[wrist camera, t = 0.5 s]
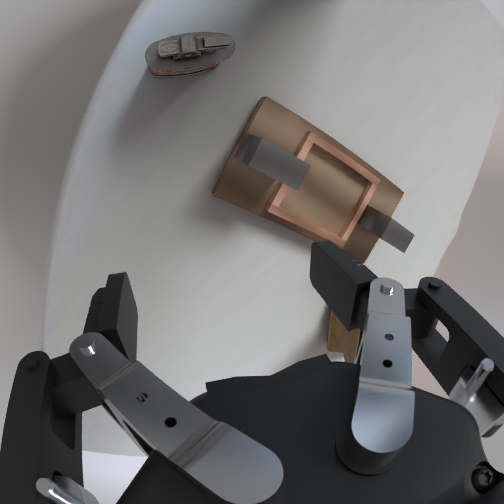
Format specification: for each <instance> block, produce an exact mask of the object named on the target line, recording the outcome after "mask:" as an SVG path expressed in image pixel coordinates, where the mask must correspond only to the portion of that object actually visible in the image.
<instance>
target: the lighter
mask: <svg viewBox="0 0 504 504" xmlns="http://www.w3.org/2000/svg"><path fill="white" fill-rule="evenodd" d="M234 50H235V44H234V41H233V39H232V37H231V36H230V35H227V34H224V33H212V32H199V33H187V34H181V35H177V36H172V37H169V38H166V39H163V40H160V41H157V42H154V43H152V44H151V45H150V46H149V47H148V48H147V50H146V52H145V58H146V62H147V64H148V65H149V67H148V68H149V72H150V74H151V75H152V76H154V77H156V78H174V77H184V76H190V75H195V74H199V73H203V72H206V71H209V70H213V69H215V68H216V67H218V65H219V64H220V62H221V61H222V60H225V59H227V58H229V57H230V56H231V55H232V54H233V52H234Z"/></svg>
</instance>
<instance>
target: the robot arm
mask: <svg viewBox="0 0 504 504" xmlns="http://www.w3.org/2000/svg"><path fill="white" fill-rule="evenodd" d="M310 279H311V283H312V285H313V287H314V288H315V289H316V291H317V292H318V293H319V294H320V296H321V297H322V298H323V300H324V301H325V302H326V303H327V305H328V306H329V307H330V309H331V310H332V311H333V312H334V314H335V315H336V316H337V318H338V319H339V320H340V322H341V323H342V324H343V325H344V327H345V328H346V329H347V331H351V330H355V329H358V328H359V330H360V333H359V337H358V343H357V349H356V354H355V359H354V363H349V362H331V361H330V360H329V358H328V356H327V355H326V354H324V355H320V356H317V357H313V358H310V359H306V360H303V361H299V362H297V363H295V364H293V365H291V366H289V367H287V368H285V369H283V370H281V371H279V372H277V373H275V374H273V375H270V376H242V377H232V378H227V379H222V380H217V381H212V382H206V383H205V384H206V388H207V392H205V393H203V394H201V395H199V396H197V397H195V398H194V399H192V400H191V401H187V400H186V399H185V398H183V397H182V396H181V395H180V394H178V393H177V392H176V391H174V390H173V389H172V388H171V387H169V386H168V385H167V384H166V383H164V382H163V381H162V380H161V379H159V378H158V377H157V376H156V375H155V374H153V373H152V372H151V371H150V370H149V369H147V368H146V367H145V366H144V365H143V364H142V363H140V362H139V361H136V354H137V323H138V313H137V307H136V302H135V299H134V296H133V292H132V289H131V285H130V282H129V278H128V275H127V273H126V272H123V273H117V274H110V275H109V276H108V280H107V284H106V287H104V288H99V289H98V290H97V291H96V293H95V294H94V295H93V296H92V300H91V304H90V305H91V306H90V307H89V313H88V315H87V319H86V323H85V327H84V331H83V334H82V335H80V336H79V337H77V338H76V339H75V340H74V341H73V342H72V343H71V345H70V348H69V353H67V354H65V355H62V356H59V357H57V358H54V359H51V360H50V358H49V356H48V355H47V354H46V353H45V352H43V351H34V352H31V353H29V354H27V355H26V356H25V357H23V359H21V361H20V363H19V364H18V367H17V370H16V374H15V378H14V382H13V386H12V390H11V394H10V399H9V403H8V408H7V413H6V418H5V424H4V430H3V436H2V443H1V450H0V504H99V503H98V500H97V499H96V497H95V496H94V495H93V494H91V493H90V492H89V491H87V490H86V489H84V487H83V486H84V485H83V469H82V412H83V411H86V410H89V409H91V408H94V407H97V406H99V405H101V406H102V407H103V408H104V409H105V410H106V412H107V413H108V414H109V415H110V416H111V417H112V418H113V420H114V421H115V422H116V423H117V424H118V425H119V426H120V427H121V428H122V429H123V431H124V432H125V433H126V434H127V435H128V436H129V437H130V438H131V439H132V440H133V441H134V443H135V444H136V445H137V446H138V447H139V448H140V449H141V450H142V451H143V452H144V453H145V454H146V455H147V456H148V458H147V460H146V461H145V463H144V464H143V466H142V467H141V469H140V470H139V472H138V473H137V474H136V476H135V477H134V479H133V480H132V482H131V483H130V485H129V486H128V488H127V489H126V490H125V492H124V493H123V495H122V496H121V497H120V499H119V500H118V502H117V503H116V504H504V474H503V473H500V472H498V471H496V470H495V469H494V468H493V467H492V466H491V465H490V464H489V462H488V460H487V458H486V456H485V453H484V450H483V447H482V443H481V438H480V437H490V436H492V435H493V434H494V433H495V432H496V431H497V430H498V429H499V428H500V427H501V426H502V425H503V424H504V338H503V337H502V336H501V335H500V334H499V333H498V332H497V331H496V330H495V329H494V328H493V327H492V326H491V325H490V324H489V323H488V322H487V321H486V320H485V319H484V318H483V317H482V316H481V315H480V314H479V313H478V312H477V311H476V310H475V309H474V308H473V307H472V306H470V305H469V304H468V303H467V302H466V301H465V300H464V299H463V298H462V297H461V296H460V295H458V294H457V293H456V292H455V291H454V290H453V289H452V288H451V287H450V286H448V285H447V284H446V283H445V282H443V281H442V280H440V279H437V278H434V277H424V278H422V279H421V280H420V282H419V286H418V288H415V289H404V288H403V286H402V285H401V284H400V283H399V282H397V281H395V280H393V279H390V278H378V277H377V276H376V275H375V274H374V273H373V272H371V271H370V270H369V269H368V268H367V267H366V266H365V265H363V263H362V262H360V261H359V260H358V259H357V258H356V257H355V256H354V255H353V254H351V253H350V252H348V251H345V250H343V249H339V248H338V247H337V246H336V245H335V244H334V243H333V242H332V241H330V240H325V241H319V242H314V243H313V244H312V248H311V262H310ZM438 320H440V321H441V322H442V323H443V324H444V326H445V327H446V328H447V329H448V331H449V341H448V342H447V341H446V340H445V339H444V338H443V337H442V336H441V335H440V333H439V332H438V331H437V330H436V329H435V328H436V325H437V323H438ZM412 349H413V350H414V351H415V353H416V354H417V355H418V356H419V358H420V359H421V360H422V362H423V363H424V364H425V365H426V367H427V368H428V369H429V371H430V372H431V373H432V375H433V376H434V377H435V378H436V380H437V381H438V382H439V384H440V385H441V386H442V388H443V389H444V391H445V392H446V393H447V395H448V396H449V399H446V398H443V397H440V396H437V395H435V394H432V393H429V392H426V391H424V390H421V389H418V388H416V387H413V386H411V381H412V380H411V379H412Z"/></svg>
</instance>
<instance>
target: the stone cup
mask: <svg viewBox="0 0 504 504" xmlns="http://www.w3.org/2000/svg"><path fill="white" fill-rule="evenodd" d="M359 333H360V330H359V328H358V329H355V330H351V331H347V329H346V328H345V327H344V325H343V324H342V323H341V322H340V320H339V319H338V318H337V316H336V315H335V314H334V312H333V311H332V310H331V314H330V322H329V330H328V342H327V350H329V351H332V352H341V353H342V352H343V353H344V359H345V362H349V363H354V359H355V354H356V349H357V343H358V337H359Z"/></svg>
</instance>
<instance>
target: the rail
mask: <svg viewBox="0 0 504 504" xmlns="http://www.w3.org/2000/svg"><path fill="white" fill-rule="evenodd" d="M212 193H213V194H214V196H217V197H219V198H221V199H224V200H226V201H228V202H231V203H233V204H235V205H238V206H240V207H242V208H244V209H247V210H249V211H251V212H254V213H256V214H258V215H260V216H263V217H265V218H267V219H269V220H272V221H274V222H276V223H278V224H280V225H283V226H285V227H287V228H289V229H291V230H294V231H296V232H298V233H300V234H302V235H305V236H307V237H309V238H311V239H313V240H315V241H317V242H319V241H325V240H330V241H332V242H333V243H334V244H335V245H336V246H337V247H338V248H339V249H343V250H345V251H348V252H350V253H351V254H353V255H354V256H355V257H356V258H357V259H358V260H359V261H360V262H362V263H364V262H365V260H366V259H367V257H368V256H369V254H370V252H371V251H372V249H373V247H374V246H375V244H376V242H377V241H378V239H379V238H381V239H382V240H384V241H386V242H387V243H389V244H391V245H392V246H394V247H395V248H397V249H399V250H400V251H402V252H403V253H405V251H406V249H407V247H408V246H409V244H410V242H411V241H412V239H413V237H414V234H413V233H411V232H410V231H409V230H407V229H406V228H404V227H403V226H402V225H400V224H399V223H398V222H396V221H395V220H393V219H392V218H391V216H392V214H393V212H394V211H395V209H396V207H397V205H398V203H399V201H400V200H401V198H402V196H403V194H404V192H403V191H402V190H400V189H399V188H398V187H397V186H396V185H394V184H393V183H392V182H391V181H389V180H388V179H387V178H386V177H384V176H383V175H382V174H381V173H379V172H378V171H377V170H376V169H374V168H373V167H372V166H370V165H369V164H368V163H366V162H365V161H364V160H362V159H361V158H360V157H358V156H357V155H356V154H354V153H353V152H352V151H350V150H349V149H347V148H346V147H345V146H343V145H342V144H340V143H339V142H338V141H336V140H335V139H333V138H332V137H330V136H329V135H327V134H326V133H324V132H323V131H321V130H320V129H318V128H317V127H315V126H314V125H312V124H311V123H309V122H308V121H306V120H305V119H303V118H301V117H300V116H298V115H297V114H295V113H293V112H292V111H290V110H288V109H287V108H285V107H284V106H282V105H280V104H278V103H277V102H275V101H273V100H272V99H270V98H268V97H262V99H261V100H260V102H259V104H258V106H257V107H256V109H255V111H254V113H253V115H252V116H251V118H250V120H249V122H248V124H247V126H246V128H245V129H244V131H243V133H242V135H241V137H240V139H239V141H238V142H237V144H236V146H235V148H234V150H233V152H232V154H231V156H230V158H229V160H228V162H227V164H226V166H225V167H224V169H223V171H222V173H221V175H220V177H219V179H218V181H217V183H216V185H215V187H214V189H213V191H212Z"/></svg>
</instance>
